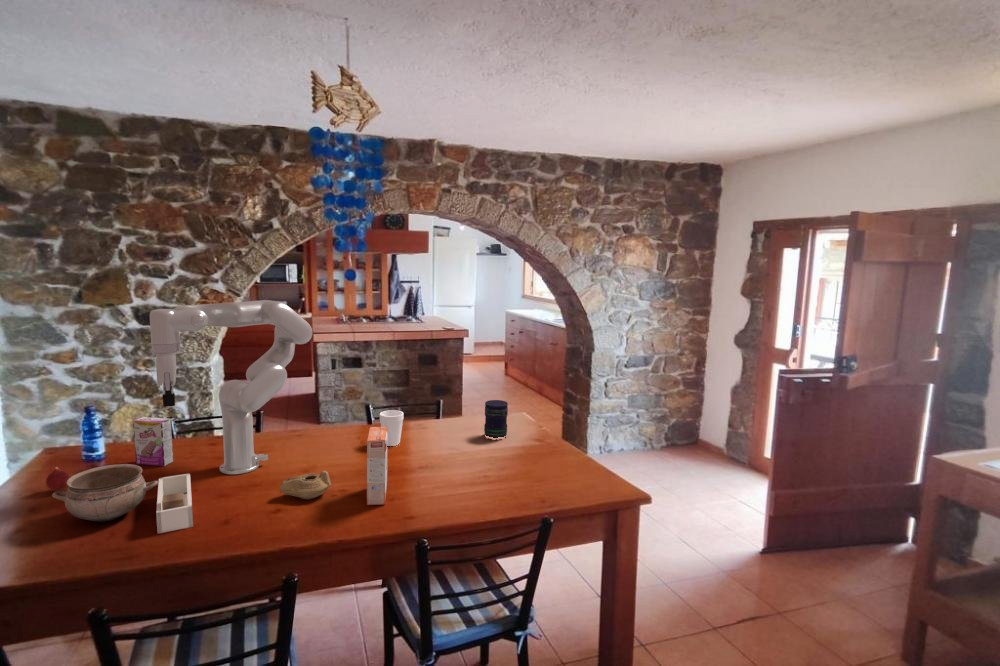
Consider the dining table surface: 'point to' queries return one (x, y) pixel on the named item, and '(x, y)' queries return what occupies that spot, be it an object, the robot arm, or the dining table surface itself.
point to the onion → (57, 479)
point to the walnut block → (172, 501)
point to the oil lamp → (306, 485)
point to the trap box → (174, 516)
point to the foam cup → (392, 425)
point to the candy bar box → (153, 441)
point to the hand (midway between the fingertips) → (169, 405)
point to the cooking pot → (105, 492)
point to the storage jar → (496, 418)
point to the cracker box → (377, 465)
